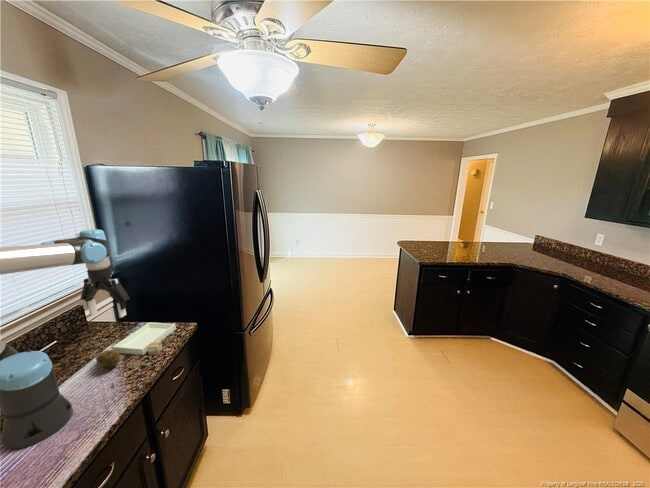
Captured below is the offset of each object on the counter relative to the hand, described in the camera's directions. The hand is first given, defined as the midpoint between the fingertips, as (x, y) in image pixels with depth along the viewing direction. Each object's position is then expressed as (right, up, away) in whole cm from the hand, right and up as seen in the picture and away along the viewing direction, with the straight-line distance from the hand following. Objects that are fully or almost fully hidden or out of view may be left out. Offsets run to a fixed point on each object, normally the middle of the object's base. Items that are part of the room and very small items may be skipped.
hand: (108, 315), depth 111 cm
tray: (+6, -16, +15) cm, 23 cm away
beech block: (+16, -18, +6) cm, 25 cm away
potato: (+3, -20, -2) cm, 21 cm away
